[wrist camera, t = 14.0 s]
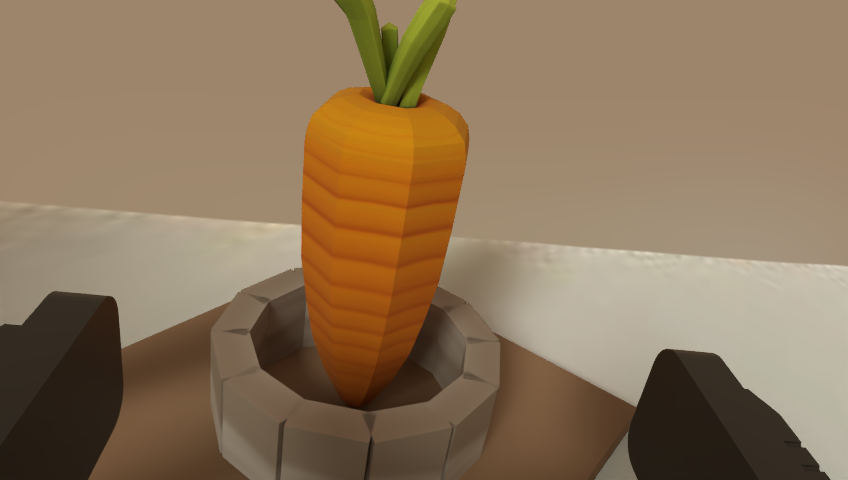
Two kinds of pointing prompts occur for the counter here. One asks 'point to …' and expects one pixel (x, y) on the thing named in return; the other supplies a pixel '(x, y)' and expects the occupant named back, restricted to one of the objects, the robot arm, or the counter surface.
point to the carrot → (379, 202)
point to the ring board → (341, 424)
